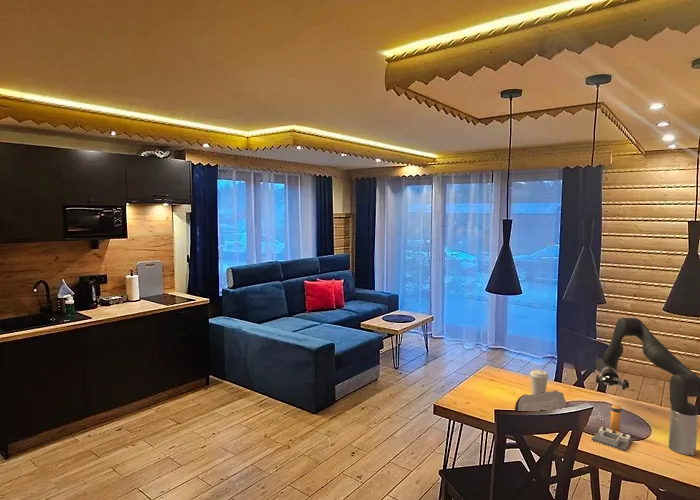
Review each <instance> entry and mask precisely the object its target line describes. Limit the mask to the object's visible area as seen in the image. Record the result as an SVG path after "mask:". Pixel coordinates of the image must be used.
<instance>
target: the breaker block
mask: <svg viewBox="0 0 700 500" xmlns="http://www.w3.org/2000/svg"><path fill="white" fill-rule="evenodd" d="M592 440H593V441H592ZM591 441H592V442H595V441H596V442H595V443H598V442H599V443H598V444H601V443H602V444H601V445H604V444H605V445H604V446H607V445H608V446H607V447H610V446H611V448H613V447H614V448H613V449H616V448H617V449H616V450H619V449H620V450H619V451H622V450H623V451H622V452H626V451H627V449H628V448H629V446H630V445H631V443H632V442H633V439H632V438H631V435H630V434H627V433H623V432H621V431H620V432H618V431H614V430H611V431H610V428H607V427H604V426H601V427H600V428H599V429H598V431H597V432H596V433H595V434H594V435H593V436H592V437H591Z"/></svg>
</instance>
